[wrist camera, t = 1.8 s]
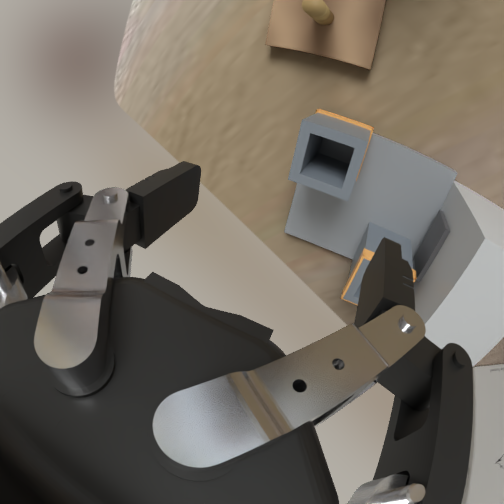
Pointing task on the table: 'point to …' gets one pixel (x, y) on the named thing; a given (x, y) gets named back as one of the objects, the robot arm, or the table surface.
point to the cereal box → (486, 438)
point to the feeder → (419, 237)
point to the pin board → (328, 28)
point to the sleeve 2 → (365, 255)
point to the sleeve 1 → (321, 166)
